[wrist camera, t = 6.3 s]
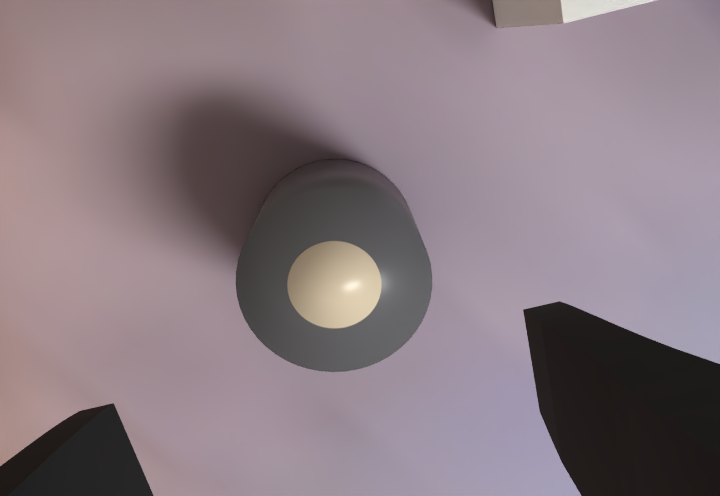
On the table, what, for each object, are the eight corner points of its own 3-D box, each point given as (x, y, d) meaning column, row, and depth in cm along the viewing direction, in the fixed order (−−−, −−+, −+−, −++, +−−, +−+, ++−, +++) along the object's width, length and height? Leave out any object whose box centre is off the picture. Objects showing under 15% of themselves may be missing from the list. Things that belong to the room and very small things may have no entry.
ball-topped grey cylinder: (395, 141, 18) (410, 168, 15) (428, 290, 20) (448, 349, 16) (236, 180, 19) (210, 216, 15) (280, 323, 20) (267, 389, 16)
